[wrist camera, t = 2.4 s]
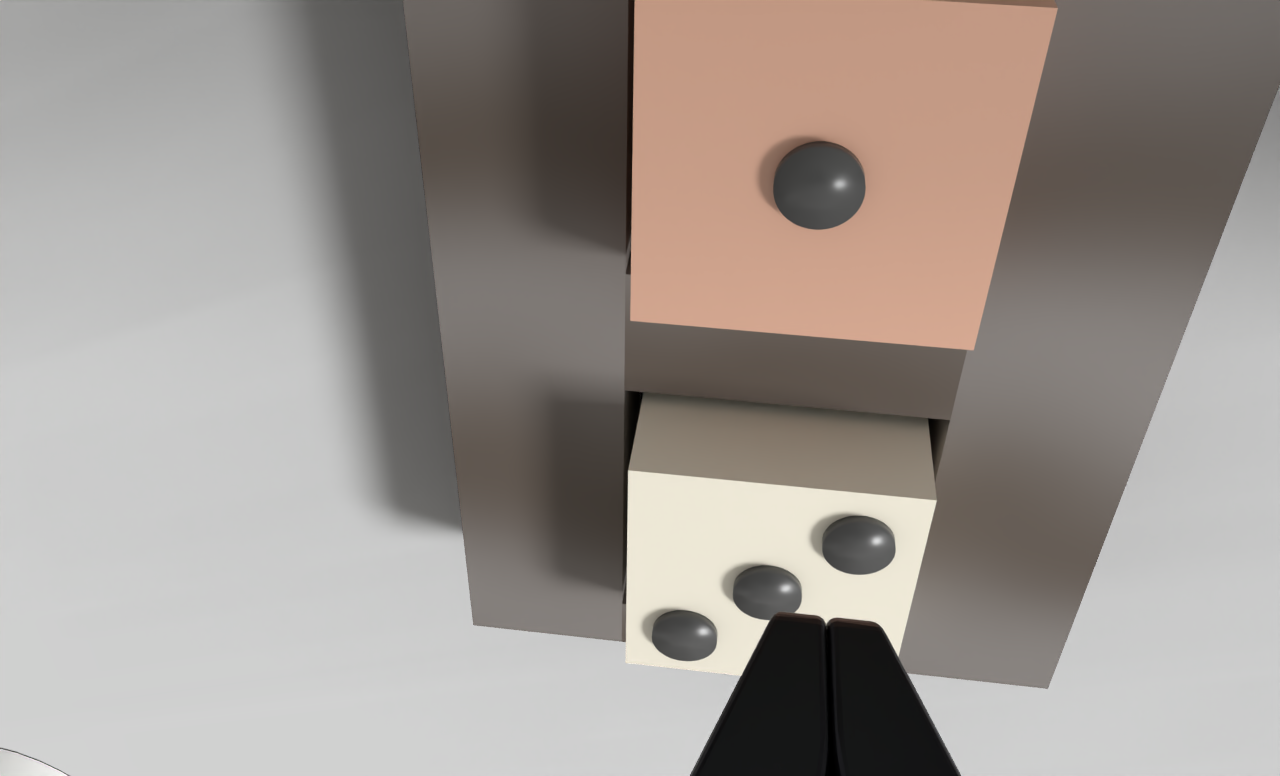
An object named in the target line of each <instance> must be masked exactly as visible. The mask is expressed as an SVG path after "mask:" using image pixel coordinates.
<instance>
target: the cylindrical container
mask: <svg viewBox="0 0 1280 776" xmlns="http://www.w3.org/2000/svg"><path fill="white" fill-rule="evenodd" d="M0 776H68V775H66V774H64V773H63V772H61V771H59V770H56V769H54V768H52V767H50V766H48V765H46V764H44V763H42V762H40V761H37V760H34V759H32V758H29V757H26V756H23V755H21V754H18V753H15V752H11V751H7V750H3V749H0Z"/></svg>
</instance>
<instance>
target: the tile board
mask: <svg viewBox="0 0 1280 776" xmlns="http://www.w3.org/2000/svg"><path fill="white" fill-rule="evenodd" d="M1055 3H1056V5H1057V7H1058V10H1057V14H1056V18H1055V22H1054V26H1053V30H1052V34H1051V38H1050V42H1049V46H1048V51H1047V55H1046V59H1045V63H1044V67H1043V71H1042V75H1041V79H1040V83H1039V87H1038V91H1037V95H1036V99H1035V103H1034V107H1033V111H1032V116H1031V120H1030V124H1029V128H1028V132H1027V136H1026V140H1025V144H1024V148H1023V152H1022V156H1021V160H1020V164H1019V168H1018V172H1017V177H1016V181H1015V185H1014V189H1013V193H1012V197H1011V201H1010V205H1009V209H1008V213H1007V217H1006V221H1005V225H1004V229H1003V233H1002V238H1001V242H1000V246H999V250H998V254H997V258H996V262H995V266H994V270H993V274H992V278H991V282H990V286H989V290H988V294H987V298H986V303H985V307H984V311H983V315H982V319H981V323H980V327H979V331H978V335H977V339H976V343H975V347H974V350H964V349H952V348H940V347H929V346H917V345H905V344H894V343H882V342H871V341H859V340H847V339H836V338H824V337H812V336H801V335H789V334H778V333H766V332H754V331H743V330H731V329H720V328H708V327H696V326H685V325H673V324H661V323H650V322H638V321H630V302H631V229H632V155H633V82H634V8H635V0H403V7H404V16H405V25H406V34H407V42H408V51H409V60H410V69H411V78H412V87H413V95H414V104H415V113H416V122H417V131H418V140H419V149H420V157H421V166H422V175H423V184H424V193H425V202H426V210H427V219H428V228H429V237H430V246H431V255H432V264H433V272H434V281H435V290H436V299H437V308H438V317H439V325H440V334H441V343H442V352H443V361H444V370H445V378H446V387H447V396H448V405H449V414H450V423H451V432H452V440H453V449H454V458H455V467H456V476H457V485H458V493H459V502H460V511H461V520H462V529H463V538H464V546H465V555H466V564H467V573H468V582H469V591H470V600H471V608H472V617H473V625H477V626H486V627H495V628H504V629H513V630H522V631H531V632H540V633H549V634H559V635H568V636H577V637H586V638H595V639H604V640H613V641H622V642H626V596H627V522H628V469H629V464H630V459H631V454H632V449H633V444H634V438H635V433H636V428H637V423H638V418H639V413H640V392H648V393H659V394H670V395H681V396H692V397H703V398H714V399H725V400H736V401H747V402H758V403H769V404H780V405H791V406H801V407H812V408H823V409H834V410H845V411H856V412H867V413H878V414H889V415H900V416H911V417H922V418H928V425H929V434H930V443H931V452H932V461H933V470H934V479H935V488H936V498H937V502H936V506H935V510H934V514H933V518H932V522H931V526H930V530H929V534H928V538H927V542H926V546H925V551H924V555H923V559H922V563H921V567H920V571H919V575H918V579H917V583H916V587H915V591H914V595H913V599H912V603H911V607H910V612H909V616H908V620H907V624H906V628H905V632H904V636H903V640H902V644H901V648H900V652H899V656H898V657H899V659H900V661H901V663H902V665H903V667H904V668H905V670H906V672H907V673H911V674H920V675H929V676H938V677H947V678H956V679H965V680H974V681H983V682H992V683H1001V684H1010V685H1019V686H1028V687H1037V688H1046V689H1048V687H1049V684H1050V681H1051V679H1052V676H1053V674H1054V671H1055V668H1056V666H1057V663H1058V661H1059V658H1060V655H1061V653H1062V650H1063V648H1064V645H1065V642H1066V640H1067V637H1068V635H1069V632H1070V629H1071V627H1072V624H1073V622H1074V619H1075V616H1076V614H1077V611H1078V609H1079V606H1080V603H1081V601H1082V598H1083V595H1084V593H1085V590H1086V588H1087V585H1088V582H1089V580H1090V577H1091V575H1092V572H1093V569H1094V567H1095V564H1096V562H1097V559H1098V556H1099V554H1100V551H1101V549H1102V546H1103V543H1104V541H1105V538H1106V536H1107V533H1108V530H1109V528H1110V525H1111V523H1112V520H1113V517H1114V515H1115V512H1116V509H1117V507H1118V504H1119V502H1120V499H1121V496H1122V494H1123V491H1124V489H1125V486H1126V483H1127V481H1128V478H1129V476H1130V473H1131V470H1132V468H1133V465H1134V463H1135V460H1136V457H1137V455H1138V452H1139V450H1140V447H1141V444H1142V442H1143V439H1144V436H1145V434H1146V431H1147V429H1148V426H1149V423H1150V421H1151V418H1152V416H1153V413H1154V410H1155V408H1156V405H1157V403H1158V400H1159V397H1160V395H1161V392H1162V390H1163V387H1164V384H1165V382H1166V379H1167V377H1168V374H1169V371H1170V369H1171V366H1172V364H1173V361H1174V358H1175V356H1176V353H1177V350H1178V348H1179V345H1180V343H1181V340H1182V337H1183V335H1184V332H1185V330H1186V327H1187V324H1188V322H1189V319H1190V317H1191V314H1192V311H1193V309H1194V306H1195V304H1196V301H1197V298H1198V296H1199V293H1200V291H1201V288H1202V285H1203V283H1204V280H1205V278H1206V275H1207V272H1208V270H1209V267H1210V264H1211V262H1212V259H1213V257H1214V254H1215V251H1216V249H1217V246H1218V244H1219V241H1220V238H1221V236H1222V233H1223V231H1224V228H1225V225H1226V223H1227V220H1228V218H1229V215H1230V212H1231V210H1232V207H1233V205H1234V202H1235V199H1236V197H1237V194H1238V192H1239V189H1240V186H1241V184H1242V181H1243V178H1244V176H1245V173H1246V171H1247V168H1248V165H1249V163H1250V160H1251V158H1252V155H1253V152H1254V150H1255V147H1256V145H1257V142H1258V139H1259V137H1260V134H1261V132H1262V129H1263V126H1264V124H1265V121H1266V119H1267V116H1268V113H1269V111H1270V108H1271V106H1272V103H1273V100H1274V98H1275V95H1276V92H1277V90H1278V87H1279V85H1280V0H1055Z"/></svg>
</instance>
